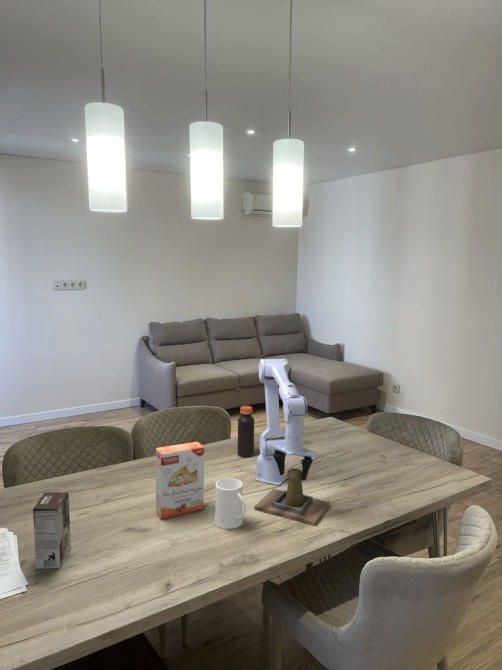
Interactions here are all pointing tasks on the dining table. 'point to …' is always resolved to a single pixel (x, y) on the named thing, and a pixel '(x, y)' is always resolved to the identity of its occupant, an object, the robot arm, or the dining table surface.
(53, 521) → the coffee box
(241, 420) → the bottle
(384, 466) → the dining table surface
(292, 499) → the cork
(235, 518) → the mug
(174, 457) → the cracker box
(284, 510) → the wooden socket base
